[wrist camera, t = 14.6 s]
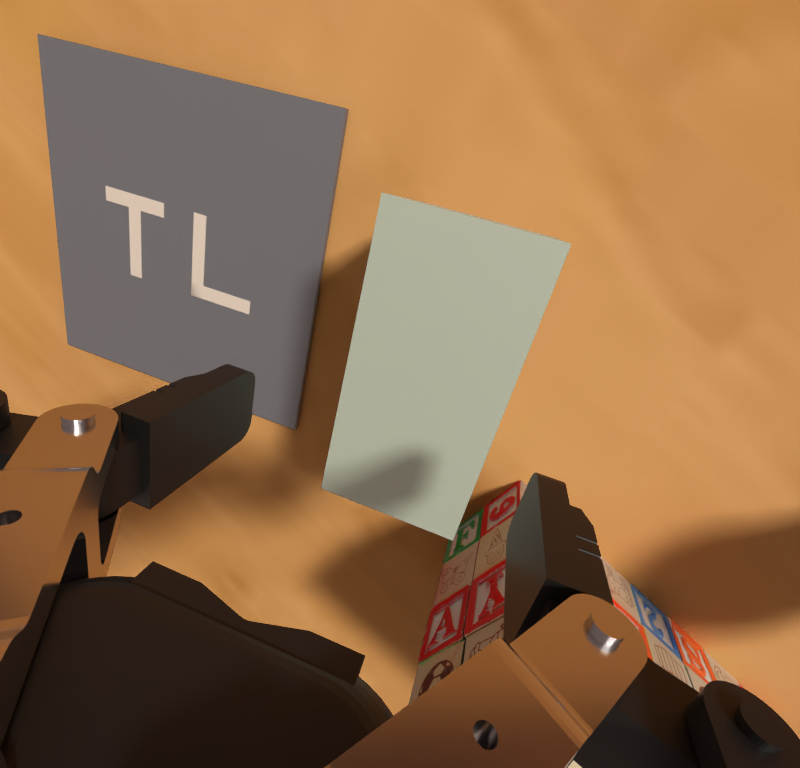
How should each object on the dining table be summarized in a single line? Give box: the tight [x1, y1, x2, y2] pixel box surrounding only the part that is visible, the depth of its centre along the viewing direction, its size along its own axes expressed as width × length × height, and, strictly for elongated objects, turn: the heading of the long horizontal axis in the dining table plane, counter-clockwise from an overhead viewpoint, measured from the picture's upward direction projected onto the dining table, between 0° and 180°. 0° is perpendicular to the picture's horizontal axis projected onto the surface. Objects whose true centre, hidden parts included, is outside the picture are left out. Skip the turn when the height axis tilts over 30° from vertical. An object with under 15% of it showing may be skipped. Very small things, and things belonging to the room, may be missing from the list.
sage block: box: [321, 193, 571, 541], centre depth 19 cm, size 6×12×8 cm, turn 166°
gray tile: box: [38, 34, 348, 430], centre depth 25 cm, size 18×18×1 cm
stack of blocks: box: [409, 480, 744, 768], centre depth 20 cm, size 21×6×12 cm, turn 50°
